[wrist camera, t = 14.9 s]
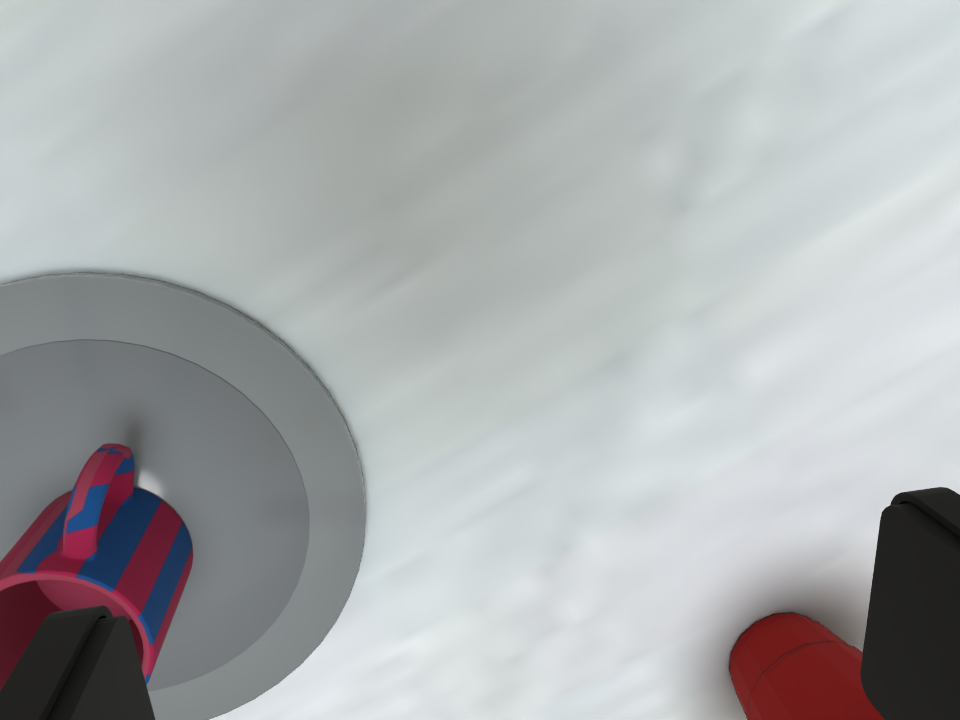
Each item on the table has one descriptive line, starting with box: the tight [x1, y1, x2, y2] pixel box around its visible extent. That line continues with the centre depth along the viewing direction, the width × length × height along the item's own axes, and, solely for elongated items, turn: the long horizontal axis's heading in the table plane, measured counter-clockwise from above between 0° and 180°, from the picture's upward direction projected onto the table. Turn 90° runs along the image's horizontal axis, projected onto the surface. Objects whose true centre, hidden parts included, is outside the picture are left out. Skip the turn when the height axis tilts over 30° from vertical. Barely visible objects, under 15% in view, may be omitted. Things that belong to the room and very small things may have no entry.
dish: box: [0, 272, 366, 720], centre depth 33 cm, size 22×22×1 cm
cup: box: [0, 443, 193, 691], centre depth 29 cm, size 7×10×7 cm
